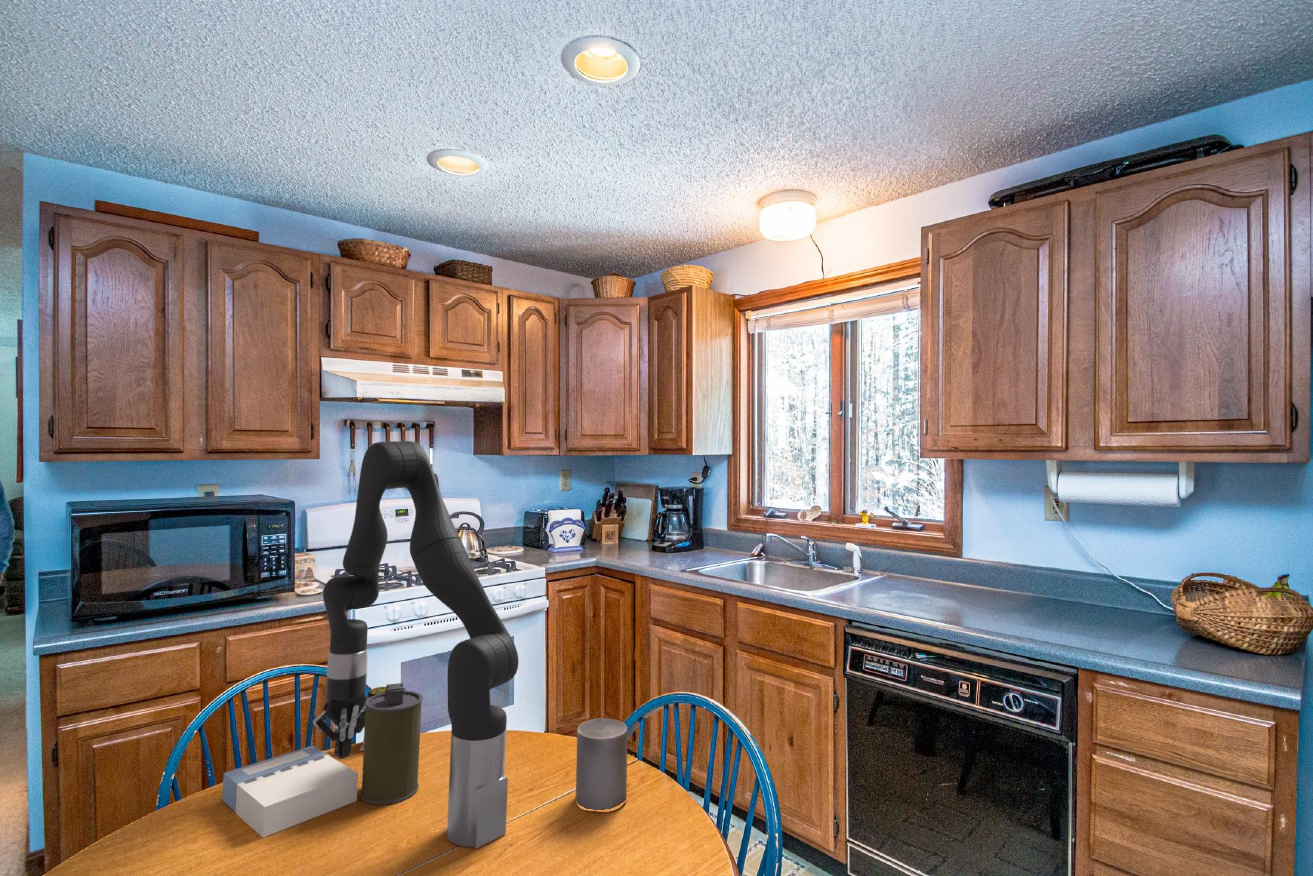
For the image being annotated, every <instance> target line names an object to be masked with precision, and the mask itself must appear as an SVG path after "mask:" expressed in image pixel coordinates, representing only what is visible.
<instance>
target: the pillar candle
mask: <svg viewBox="0 0 1313 876" xmlns="http://www.w3.org/2000/svg"><path fill="white" fill-rule="evenodd" d="M576 731H577V733H576V770H575V771H576V775H575V777H576V779H575V802H576V801H577V803H578V804H579V805H580V806H582V807H584V808H586V809H593V810H605V809H611V808H614V807H616V806H618V805H620V804H621V803H623V802H624V801H625V800H626V801H627V799H626V797H627V794H628V791H627V788H628V782H627V781H628V776H627V775H628V726H627V725H626V724H625V723H624V722H623V721H621V720H619V719H613V718H605V717H604V718H600V717H599V718H592V719H588V720H585V721H583V722H581V723H580V724H579V725H578V726H577V730H576Z"/></svg>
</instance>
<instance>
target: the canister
mask: <svg viewBox="0 0 1313 876" xmlns="http://www.w3.org/2000/svg"><path fill="white" fill-rule="evenodd" d="M385 687H386V692H384V693H380V694H377V695H374V696H372V697H370V698H369V699H368V698H367V700H366V702H365V707H366V714H365V727H364V728H365V734H364V733H363V734H364V735H363V739H364V751H363V756H362V757H363V759H362V776H361V777H362V779H361V781H362V782H361V791H360V793H359V794H360V799H361V800H362V801H363V802H364V803H365V802H366V803H367V804H371V805H377V806H381V805H382V806H383V805H393V804H396V803H400V802H403V801H405V800H407V799H409V798H410V797H413V796H414V795H415V794H416V793H417V792H418V790H419V789H420V788H419V767H420V765H419V764H420V763H419V761H420V741H421V739H420V738H421V722H422V721H421V720H422V719H421V718H422V702H423V698H424V697H423V695H422V694H421V693H419V692H416V691H412V690H406V688H405V687H404V683H403V682H399V683H398V682H397V683H390V684H386V686H385Z"/></svg>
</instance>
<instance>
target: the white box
mask: <svg viewBox="0 0 1313 876" xmlns="http://www.w3.org/2000/svg"><path fill="white" fill-rule="evenodd" d="M358 782H359V773H358V772H357V771H355V770H354V769H351V768H350V767H348V766H347V765H346V764H343V763H342V762H340V761H338V760H337V759H336V758H334V757H332V756H330V755H329V754H327V755H325V756H322V757H319V758H316V759H312V760H309V761H306V762H303V763H300V764H297V765H294V766H291V767H288V768H285V769H282V770H278V771H275V772H272V773H269V774H266V775H263V776H260V777H257V778H254V779H251V780H248V781H244V782H241V783H238V784H237V790H236V807H235V814H236V815H237V816H238V817H240V819H241V820H243V821H244V822H245V823H246V824H247V825H248V826H250V828H251V829H253V830H254V831H255V832H256V833H257V834H258V835H259V836H260V837H261V838H266V837H268V836H271V835H273V834H276V833H279V832H281V831H283V830H287V829H288V828H291V827H293V826H296V825H299V824H302V823H304V822H306V821H309V820H311V819H314V818H317V817H319V816H322V815H324V814H327V813H330V812H333V811H335V810H336V809H339V808H343V807H344V806H347V805H350V804H353V803H355V802H357V801H358V786H359V785H358Z"/></svg>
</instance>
